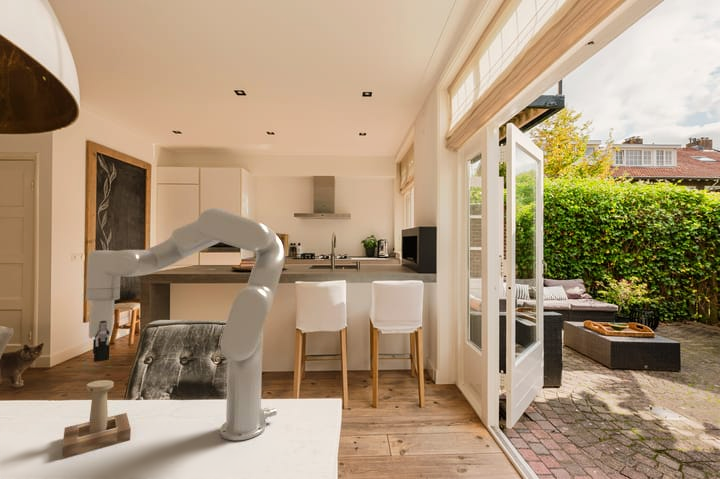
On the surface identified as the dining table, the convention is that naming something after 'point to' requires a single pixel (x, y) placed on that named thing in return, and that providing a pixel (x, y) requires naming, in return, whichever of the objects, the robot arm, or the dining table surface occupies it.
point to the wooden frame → (95, 436)
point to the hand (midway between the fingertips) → (100, 356)
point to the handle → (99, 405)
